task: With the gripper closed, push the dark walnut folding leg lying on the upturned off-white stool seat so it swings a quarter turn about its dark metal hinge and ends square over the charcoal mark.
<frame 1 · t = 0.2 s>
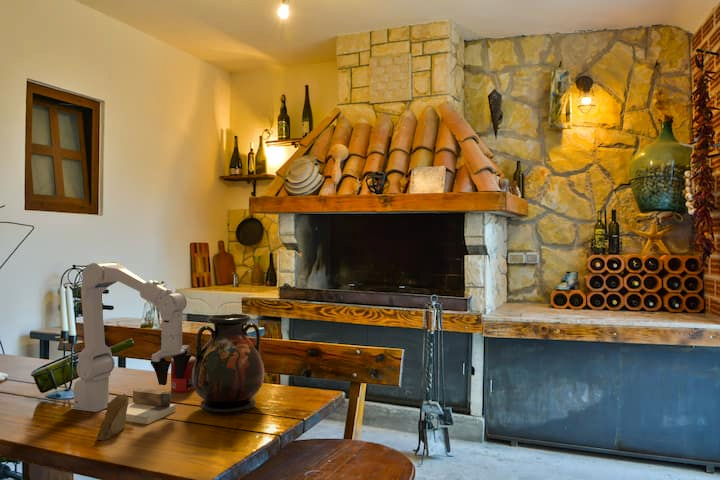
hand: (171, 381, 158), 10 cm above the table, fingers open, 7 cm apart
canned food: (183, 391, 184), on the table
stool seat: (143, 415, 158), on the table
amphora vase: (228, 408, 165), on the table
stool leg: (152, 397, 162), point 4 cm above the table, hinge at 0.0°
rock: (109, 434, 143), on the table
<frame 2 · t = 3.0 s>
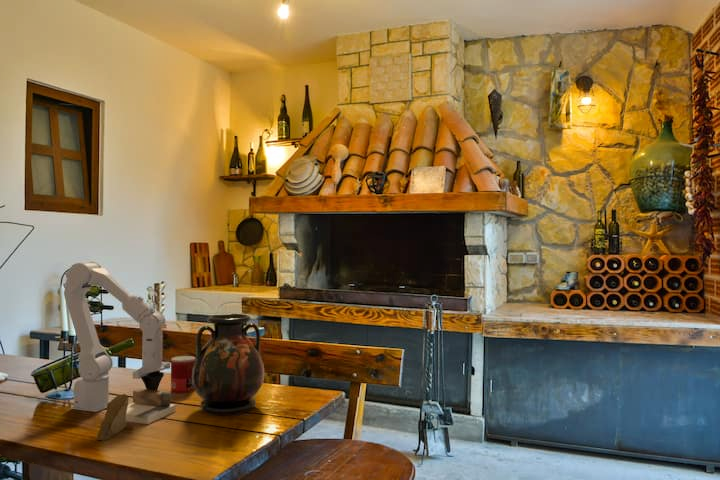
hand: (151, 397, 165), 3 cm above the table, fingers closed
stool leg: (152, 397, 162), point 4 cm above the table, hinge at 0.1°, touching gripper
everything else where it was.
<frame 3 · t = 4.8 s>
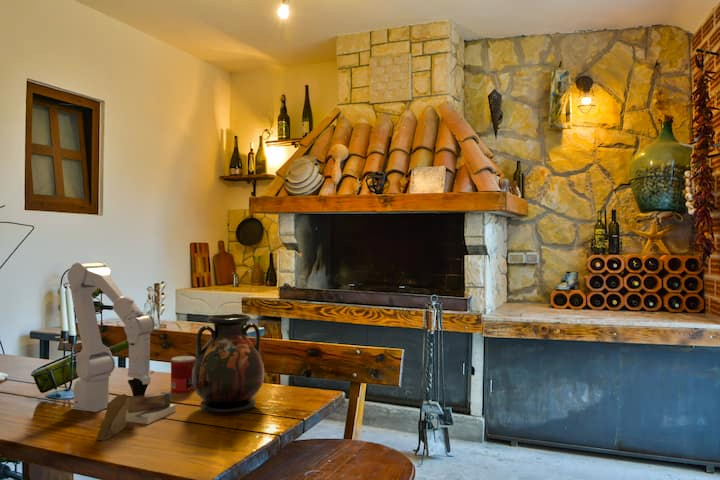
hand: (138, 403, 158), 3 cm above the table, fingers closed
stool leg: (149, 401, 158), point 4 cm above the table, hinge at 53.5°, touching gripper
everything else where it was.
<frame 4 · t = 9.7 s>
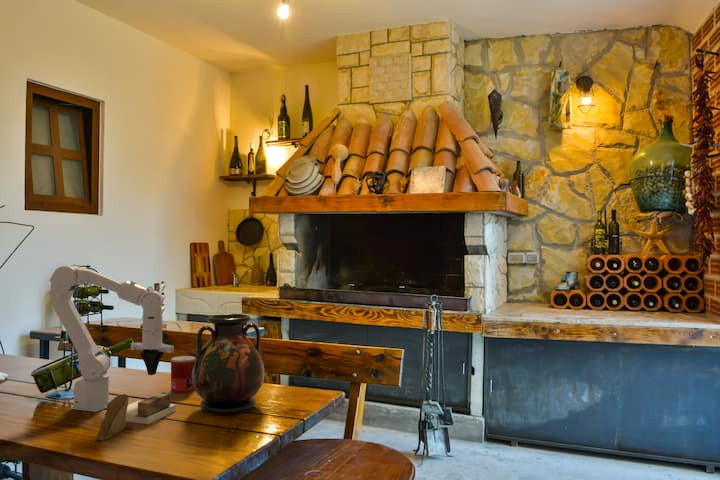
hand: (151, 374, 168), 9 cm above the table, fingers closed
stool leg: (155, 403, 156), point 4 cm above the table, hinge at 92.6°
everything else where it was.
at the end: stool leg at +93° (first picture: +0°) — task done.
